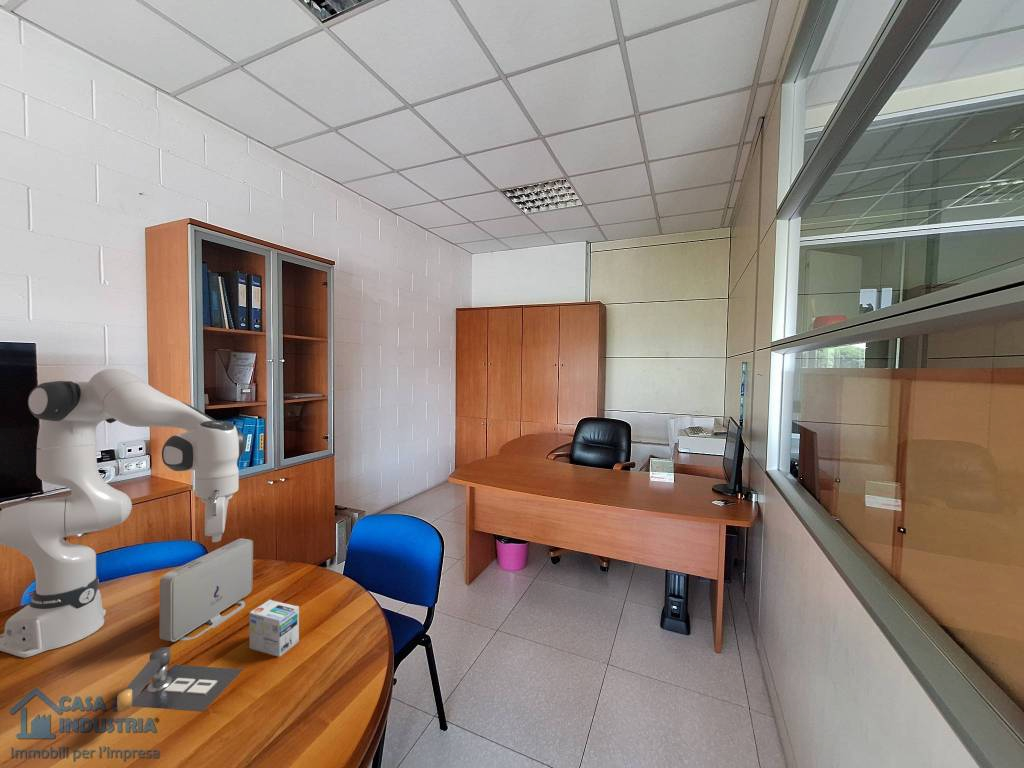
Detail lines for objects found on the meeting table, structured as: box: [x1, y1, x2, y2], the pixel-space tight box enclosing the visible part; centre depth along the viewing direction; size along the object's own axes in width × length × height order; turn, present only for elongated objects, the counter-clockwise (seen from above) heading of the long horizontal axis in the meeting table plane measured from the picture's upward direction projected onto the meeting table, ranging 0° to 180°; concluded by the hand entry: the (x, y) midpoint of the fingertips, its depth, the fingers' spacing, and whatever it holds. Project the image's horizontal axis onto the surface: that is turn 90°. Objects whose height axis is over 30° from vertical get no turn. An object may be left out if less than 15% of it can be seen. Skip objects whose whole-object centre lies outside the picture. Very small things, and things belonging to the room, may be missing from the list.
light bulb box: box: [249, 599, 300, 658], centre depth 106 cm, size 11×7×11 cm, turn 74°
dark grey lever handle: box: [116, 646, 171, 713], centre depth 86 cm, size 15×4×3 cm, turn 16°
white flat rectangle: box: [187, 679, 217, 694], centre depth 91 cm, size 4×4×1 cm
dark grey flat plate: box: [131, 664, 244, 712], centre depth 92 cm, size 18×12×1 cm, turn 88°
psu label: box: [164, 678, 195, 693], centre depth 92 cm, size 4×4×1 cm
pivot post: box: [146, 664, 172, 692], centre depth 92 cm, size 4×4×5 cm
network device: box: [159, 537, 254, 643], centre depth 116 cm, size 26×9×20 cm, turn 168°
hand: (216, 539), depth 97 cm, fingers closed
